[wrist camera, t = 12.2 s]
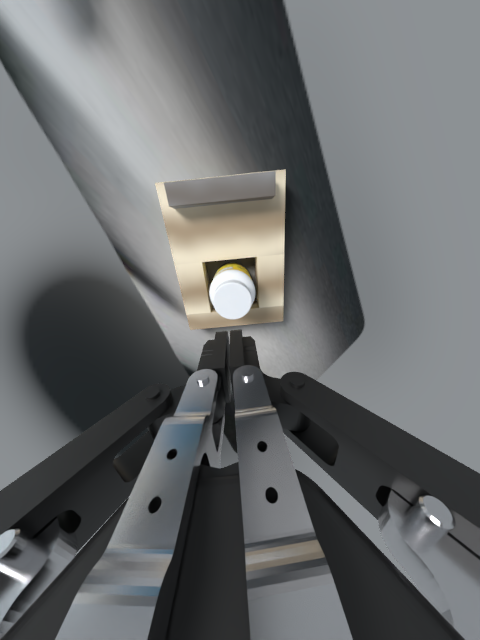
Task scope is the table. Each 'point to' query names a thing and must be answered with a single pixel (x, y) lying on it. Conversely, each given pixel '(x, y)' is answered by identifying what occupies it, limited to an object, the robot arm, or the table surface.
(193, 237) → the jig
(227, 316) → the supplement bottle
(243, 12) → the table surface
